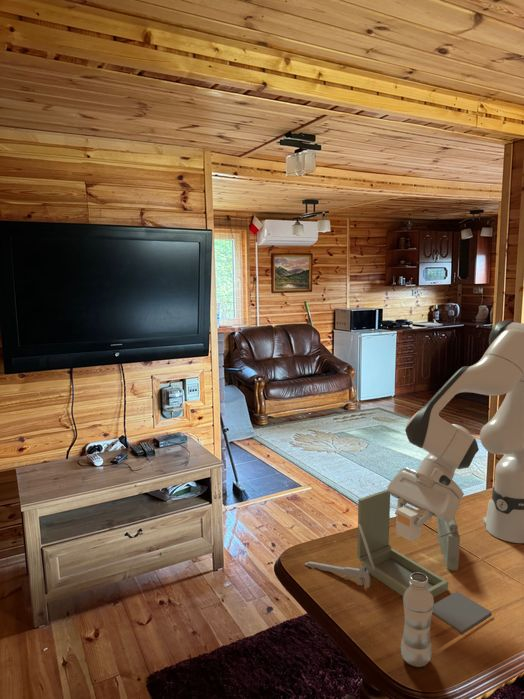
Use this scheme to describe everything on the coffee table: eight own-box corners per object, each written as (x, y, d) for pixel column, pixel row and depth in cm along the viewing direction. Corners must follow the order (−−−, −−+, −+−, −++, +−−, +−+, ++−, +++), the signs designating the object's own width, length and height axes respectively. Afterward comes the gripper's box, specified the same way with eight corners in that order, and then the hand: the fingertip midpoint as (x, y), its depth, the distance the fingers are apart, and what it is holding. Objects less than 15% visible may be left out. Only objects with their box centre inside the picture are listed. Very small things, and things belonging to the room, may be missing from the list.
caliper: (370, 589, 135) (370, 567, 134) (368, 591, 134) (369, 569, 133) (305, 564, 147) (305, 544, 146) (303, 565, 146) (303, 546, 145)
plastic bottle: (394, 654, 112) (396, 573, 109) (417, 645, 114) (420, 565, 111) (413, 675, 106) (417, 590, 103) (438, 664, 109) (442, 581, 106)
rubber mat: (456, 594, 132) (456, 591, 132) (491, 615, 124) (491, 612, 124) (426, 611, 126) (427, 607, 125) (461, 635, 117) (461, 631, 117)
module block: (405, 529, 137) (406, 505, 136) (420, 537, 133) (421, 512, 132) (395, 533, 135) (396, 509, 134) (410, 541, 131) (410, 516, 129)
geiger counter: (465, 528, 139) (450, 489, 163) (441, 525, 140) (429, 488, 165) (462, 573, 141) (447, 529, 165) (438, 571, 143) (427, 527, 167)
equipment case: (386, 553, 151) (387, 488, 148) (447, 591, 133) (451, 518, 130) (355, 567, 145) (356, 500, 141) (415, 609, 126) (418, 533, 123)
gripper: (398, 460, 144) (373, 500, 140) (459, 484, 127) (433, 531, 123) (408, 471, 147) (383, 511, 143) (469, 496, 130) (444, 542, 126)
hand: (407, 520), depth 133 cm, fingers closed on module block, 5 cm apart
